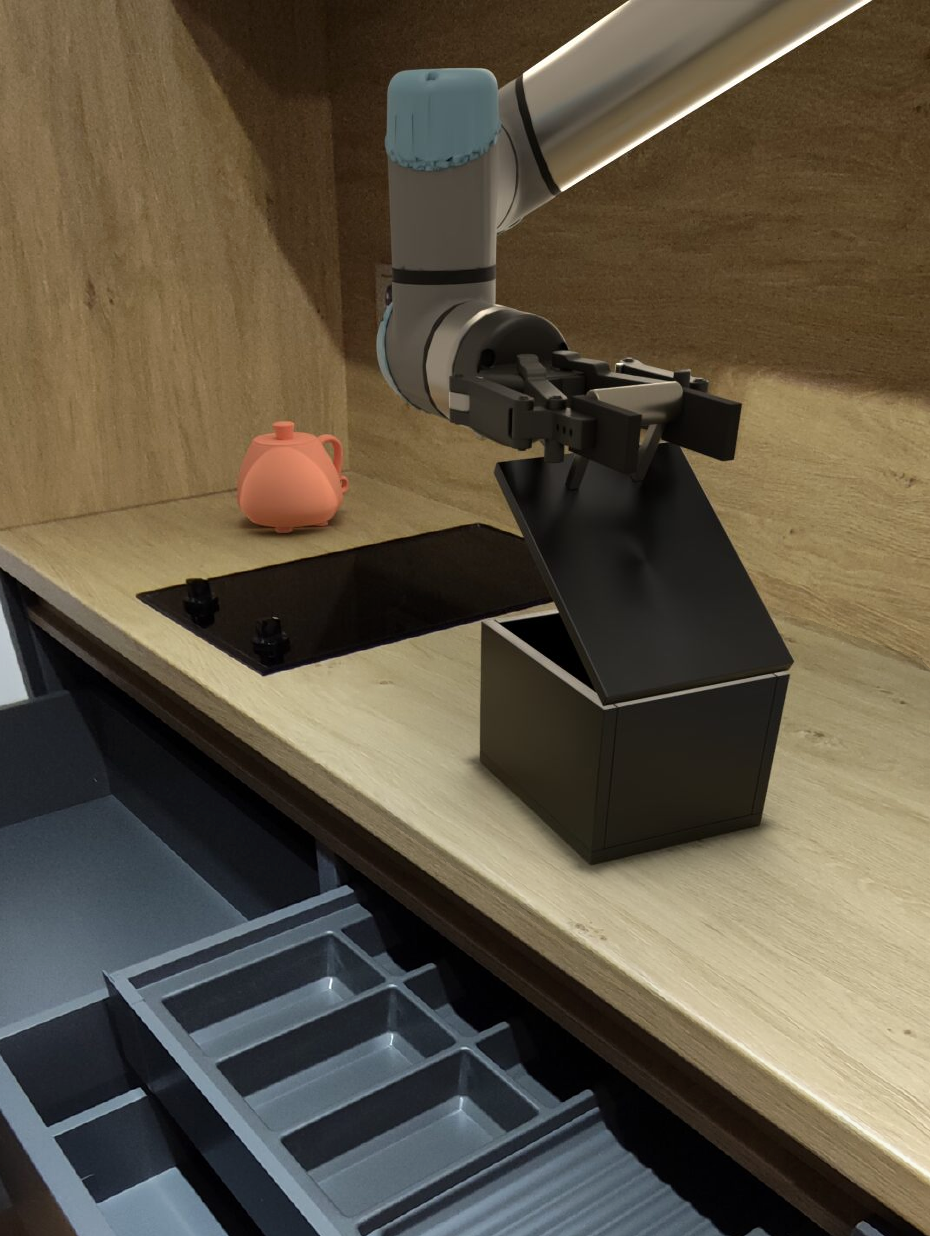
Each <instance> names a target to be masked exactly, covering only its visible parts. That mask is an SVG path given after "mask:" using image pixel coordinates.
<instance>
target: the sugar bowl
mask: <svg viewBox="0 0 930 1236" xmlns="http://www.w3.org/2000/svg"><path fill="white" fill-rule="evenodd" d="M272 429H273V431H274V432H271V433H270V432H269V433H264V434H260V435H257V436H255V437H254V438H253V439H252V441H251V442H250V444H249V446H248V448H247V451H246V454H245V456H244V458H243V461H242V463H241V466H240V468H239V473H238V478H237V485H236V500H237V506H238V508H239V510H240V511H242V513H243V514H244V515H245V516H246V517H247V519H248V520H249V521H250V522H252V523H254V524H256V525H259V526H264V527H271V528H275V532H276V533H278V534H286V533H292V532H293V528H300V527H307V526H314V527H324V526H328V525H329V522H328V521H329V520H331V519H333V517H334V516H335V515H336V514H337V513H338V510H339V509H340V507H341V505H342V503H343V500H344V495H345V494H346V493H347V492H348V491H349V488H350V483H349V480H348V477H346V476H345V475H344V474H343V475H342V469H343V463H344V462H343V461H344V449H343V444H342V443H341V441H340V440H339V439H338V438H337V437H336V436H334V435H332V434H328V433H324V434H321V435H319V436H316V435H315V434H312V433H308V432H301V431H294V430H295V422H293V421H289V420H282V421H276V422H273V423H272ZM326 443H331V444H332V448H333V460H332V458H331V457H330V455H329V453H328V452H327V450H326V448H325V447H324V446H323V444H326Z"/></svg>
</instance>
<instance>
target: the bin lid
mask: <svg viewBox="0 0 930 1236" xmlns="http://www.w3.org/2000/svg"><path fill="white" fill-rule="evenodd" d="M586 396H588V397H591V398H594V399H597V400H600V401H603V402H606V403H609V404H612V405H614V406H617V407H620V408H623V409H626V410H629V411H632V412H635V413H638V414H641V415H642V421H641V426H645V425H649V427H648V430H646V432H645V434H644V437H643V440H642V442H641V444H639V454H638V464H637V473H630V474H623V473H621V472H618V471H616V470H614V469H611V468H609V467H606V466H604V465H601V464H599V463H597V462H594V461H592V460H589V459H587V458H585V457H582V456H580V455H577V454H575V453H573V452H570V453H564V462H561V463H546V462H544V456H539V457H538V456H537V457H530V458H529V457H528V458H522V459H521V458H520V459H513V460H512V459H511V460H506V461H505V460H504V461H497V462H496V463H495V466H494V469H493V475H494V478H495V479H496V481H497V484H498V487H499V488H500V490H501V492H502V494H503V497H504V498H505V501H506V503H507V505H508V508H509V509H510V512H511V514H512V516H513V518H514V520H515V522H516V525H517V527H518V528H519V531H520V533H521V534H522V537H523V539H524V541H525V544H526V546H527V548H528V550H529V553H530V554H531V556H532V558H533V561H534V562H535V565H536V567H537V569H538V572H539V573H540V576H541V577H542V579H543V582H544V584H545V586H546V588H547V590H548V593H549V594H550V597H551V599H552V601H553V603H554V605H555V608H556V609H557V610H558V612H559V614H560V616H561V618H562V620H563V622H564V625H565V627H566V629H567V631H568V633H569V635H570V637H571V639H572V642H573V644H574V646H575V648H576V650H577V652H578V654H579V657H580V659H581V661H582V663H583V665H584V667H585V669H586V671H587V674H588V676H589V678H590V680H591V682H592V684H593V686H594V689H595V691H596V693H597V695H598V697H599V699H600V701H601V703H602V706H607V705H613V704H618V703H623V702H628V701H633V700H638V699H644V698H649V697H654V696H659V695H664V694H669V693H675V692H680V691H685V690H690V689H695V688H700V687H706V686H711V685H716V684H721V683H726V682H731V681H737V680H742V679H747V678H752V677H757V676H762V675H768V674H773V673H778V672H783V671H785V672H788V671H789V670H790V669H791V668H792V666H793V665H794V663H795V660H794V658H793V656H792V655H791V652H790V650H789V649H788V647H787V645H786V643H785V641H784V639H783V637H782V635H781V634H780V631H779V630H778V628H777V626H776V624H775V622H774V620H773V618H772V616H771V615H770V613H769V610H768V609H767V607H766V605H765V603H764V601H763V599H762V597H761V595H760V594H759V592H758V590H757V588H756V587H755V585H754V582H753V580H752V579H751V576H750V575H749V573H748V571H747V569H746V567H745V565H744V564H743V562H742V560H741V558H740V556H739V554H738V552H737V550H736V549H735V547H734V544H733V542H732V541H731V538H730V537H729V535H728V533H727V531H726V529H725V528H724V525H723V524H722V522H721V520H720V518H719V516H718V515H717V512H716V510H715V509H714V507H713V505H712V503H711V501H710V499H709V497H708V496H707V493H706V492H705V489H704V488H703V486H702V484H701V482H700V480H699V478H698V476H697V475H696V473H695V471H694V469H693V467H692V465H691V464H690V461H689V459H688V458H687V455H686V453H685V452H684V450H683V447H680V446H678V445H675V444H672V443H669V442H666V441H661V437H662V434H663V432H664V430H665V427H666V425H667V423H671V422H675V421H677V420H678V419H679V417H680V416H681V413H682V410H683V404H684V396H683V390H682V387H681V385H680V384H679V383H678V382H676V381H673V382H663V383H654V384H644V385H634V386H625V387H615V388H605V389H595V390H590V391H589V392H588V393H587V394H586ZM660 441H661V442H660Z"/></svg>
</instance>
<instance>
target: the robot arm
mask: <svg viewBox="0 0 930 1236" xmlns="http://www.w3.org/2000/svg"><path fill="white" fill-rule="evenodd" d="M869 2H872V0H627V1H626V2H624V3H623V4H621V5H620V6H619V7H617V8H616V9H615V10H613V11H611V12H610V13H609V14H607V15H606V16H604V17H603V18H601V19H600V20H599V21H596V23H594V24H593V25H591V26H590V27H588V28H587V29H585V30H584V31H583V32H581V33H580V34H579V35H576V36H575V37H573V38H572V39H571V40H569V41H568V42H567V43H565V44H564V45H562V46H560V47H559V48H558V49H557V50H555V51H553V52H552V53H551V54H549V55H548V56H547V57H545V58H543V59H542V60H540V61H539V62H537V63H536V64H535V65H533V66H532V67H531V68H529V69H528V70H526V71H525V72H523V73H522V74H521V75H520V76H518V77H517V78H515V79H513V80H511V81H509V82H507V84H504V86H502V87H500V88H499V85H498V81H497V78H496V76H495V75H494V73H493V72H492V71H490V70H489V69H487V68H477V67H476V68H475V67H456V68H455V67H453V68H452V67H449V68H425V69H408V70H401V71H398V72H397V73H396V74H394V76H393V77H392V78H391V79H390V82H389V84H388V86H387V93H386V97H387V99H386V101H387V102H386V104H387V105H386V109H387V110H386V133H385V137H384V148H385V152H386V155H387V173H388V193H389V194H388V198H389V200H388V201H389V223H390V243H391V244H390V245H391V246H390V247H391V248H390V249H391V275H392V279H391V296H392V297H391V300H392V301H391V303H390V304H389V305H388V306H387V308H386V310H385V311H384V313H383V316H382V318H381V321H380V324H379V327H378V330H377V335H376V346H375V347H376V356H377V363H378V366H379V369H380V372H381V374H382V376H383V378H384V380H385V382H386V383H387V385H388V386H389V387H390V389H391V390H392V391H393V392H395V394H397V395H398V396H399V397H400V398H402V399H403V401H405V402H406V403H408V405H410V406H412V407H413V408H415V409H416V410H417V411H422V412H423V413H426V414H428V415H434V416H436V417H439V418H441V419H445V420H447V421H448V422H449V423H451V424H454V425H456V426H461V427H462V428H465V429H467V430H469V431H471V432H474V433H475V438H476V439H477V440H478V441H483V442H484V441H486V440H490V441H492V442H494V443H497V444H499V445H501V446H503V447H507V448H511V449H514V450H517V451H518V452H526V451H527V450H530V449H532V448H533V444H535V443H537V442H539V443H540V444H541V445H542V446H543V449H544V450H543V457H544V462H546V463H561V462H564V454H565V450H566V449H565V447H567V451H568V452H570V453H575V454H577V455H580V456H582V457H585V458H587V459H589V460H592V461H594V462H597V463H599V464H601V465H604V466H606V467H609V468H611V469H614V470H616V471H618V472H621V473H623V474H630V473H637V464H638V454H639V445H640V443H641V431H642V430H646V431H647V430H648V427H649V425H645V426H641V421H642V415H641V414H638V413H635V412H632V411H629V410H626V409H623V408H620V407H617V406H614V405H612V404H609V403H606V402H603V401H600V400H597V399H594V398H591V397H588V396H586V394H587V393H588V392H589V391H590V390H595V389H605V388H615V387H625V386H634V385H644V384H654V383H663V382H673V381H676V382H678V383H679V384H680V385H681V387H682V390H683V396H684V404H683V410H682V413H681V416H680V417H679V419H678V420H677V421H675V422H671V423H667V425H666V427H665V430H664V432H663V434H662V437H661V439H660V441H663V442H669V443H672V444H675V445H678V446H680V447H681V448H682V449H687V450H689V451H692V452H695V453H698V454H700V455H703V456H706V457H709V458H711V459H715V460H717V461H720V462H729V461H735V457H736V449H737V443H738V442H737V441H738V434H739V428H740V421H741V414H742V408H743V403H742V402H739V401H735V400H732V399H728V398H725V397H720V396H718V395H714V394H711V393H709V385H710V381H709V380H708V379H704V377H695V376H692V369H690V368H687V369H681V370H676V371H672V370H667V369H663V368H658V367H656V366H651V365H647V364H644V363H642V362H641V361H639V360H637V359H634V358H633V357H625V358H622V359H620V360H619V362H618V363H617V362H616V363H615V365H614V372H613V371H612V370H611V368H610V364H609V363H608V362H607V361H604V360H598V359H592V358H584V357H582V356H581V354H580V353H579V352H577V351H570V348H569V346H568V344H567V341H566V339H565V337H564V336H563V334H562V333H561V332H560V330H559V329H558V328H557V326H555V324H553V323H552V322H551V321H550V320H548V319H547V318H545V317H544V316H541V315H538V314H534V313H531V312H527V311H522V310H518V309H516V308H514V307H513V308H512V307H509V306H506V305H501V304H497V303H496V285H497V284H496V283H497V282H496V281H497V280H496V279H497V236H498V235H501V234H502V233H504V232H506V231H508V230H509V229H512V228H513V227H515V226H517V224H519V223H520V222H521V221H522V220H523V218H524V217H525V216H527V215H529V214H530V213H532V212H534V211H535V210H536V209H538V208H540V207H542V206H544V205H545V204H546V203H548V202H550V201H551V200H553V199H554V198H556V196H558V195H559V194H561V193H562V192H564V191H566V190H568V189H569V188H571V187H572V186H573V185H576V184H577V183H578V182H580V181H582V180H584V179H586V177H588V176H589V175H591V174H594V173H595V172H596V171H598V170H600V169H601V168H603V167H604V166H606V165H608V164H609V163H611V162H613V161H615V160H616V159H617V158H619V157H621V156H623V155H624V154H625V153H627V152H629V151H630V150H632V149H634V148H635V147H637V146H638V145H640V144H642V143H644V142H645V141H646V140H649V139H650V138H652V137H653V136H654V135H656V134H658V133H660V132H661V131H663V130H664V129H666V128H667V127H669V126H671V125H672V124H674V123H676V122H677V121H679V120H680V119H682V118H684V117H685V116H687V115H689V114H691V113H692V112H693V111H695V110H697V109H699V108H700V107H702V106H703V105H705V104H706V103H708V102H710V101H711V100H713V99H714V98H716V97H718V96H720V95H721V94H722V93H724V92H726V91H727V90H729V89H731V88H732V87H734V86H735V85H737V84H738V83H741V82H742V81H744V80H745V79H747V78H748V77H751V75H753V74H755V73H756V72H758V71H760V70H761V69H763V68H764V67H766V66H768V65H770V64H771V63H773V62H774V61H776V60H777V59H779V58H781V57H782V56H784V55H785V54H787V53H789V52H790V51H792V50H794V49H796V48H797V47H798V46H800V45H802V44H803V43H805V42H806V41H808V40H810V39H811V38H813V37H814V36H816V35H818V34H820V33H821V32H822V31H825V30H826V29H827V28H829V27H830V26H832V25H834V24H836V23H838V22H839V21H841V20H842V19H844V18H845V17H848V15H850V14H852V13H854V12H855V11H856V10H858V9H860V8H861V7H863V6H864V5H866V4H868V3H869Z"/></svg>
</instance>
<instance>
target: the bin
mask: <svg viewBox="0 0 930 1236" xmlns="http://www.w3.org/2000/svg"><path fill="white" fill-rule="evenodd" d="M480 624H481V625H480V687H479V689H480V690H479V691H480V692H479V693H480V694H479V695H480V696H479V704H480V705H479V709H480V710H479V762H480V763H481V764H482V765H483V766H484V767H485V768H486V769H487V770H488V771H490V772H491V773H492V774H493V775H494V776H495V777H496V778H497V779H498V780H499V781H500V782H501V783H503V784H504V786H505V787H507V788H508V790H510V791H511V792H512V793H513V794H514V796H516V797H517V798H518V799H520V800H521V801H522V803H524V804H525V805H526V806H527V807H528V808H529V809H530V810H531V811H532V812H533V813H535V814H536V815H537V816H538V817H539V818H540V819H541V820H542V821H543V822H544V823H545V824H546V825H547V826H548V827H550V828H551V829H552V830H553V831H554V832H555V833H556V835H558V836H559V837H560V838H561V839H562V840H563V841H564V842H566V843H567V844H568V845H569V847H571V848H572V850H574V851H575V852H576V853H577V854H578V855H579V856H581V858H582V859H583V860H584V861H585V862H586V863H588V864H589V865H590V866H592V865H595V864H600V863H604V862H609V861H612V860H617V859H622V858H626V857H630V856H634V855H639V854H642V853H646V852H650V851H651V852H652V851H655V850H659V849H663V848H668V847H671V846H676V845H680V844H684V843H688V842H693V841H697V840H702V839H706V838H709V837H714V836H718V835H722V834H726V833H731V832H734V831H739V830H743V829H747V828H752V827H756V826H760V825H761V824H762V819H763V815H764V814H763V813H764V809H765V804H766V798H767V793H768V789H769V783H770V779H771V773H772V768H773V763H774V758H775V753H776V748H777V744H778V738H779V734H780V733H779V732H780V728H781V722H782V717H783V713H784V707H785V703H786V699H787V692H788V687H789V682H790V677H791V674H790V673H789V672H788V671H783V672H778V673H773V674H768V675H762V676H757V677H752V678H747V679H742V680H737V681H731V682H726V683H721V684H716V685H711V686H706V687H700V688H695V689H690V690H685V691H680V692H675V693H669V694H664V695H659V696H654V697H649V698H644V699H638V700H633V701H628V702H623V703H618V704H613V705H607V706H602V703H601V701H600V699H599V697H598V695H597V693H596V691H595V689H594V686H593V684H592V682H591V680H590V678H589V676H588V674H587V671H586V669H585V667H584V665H583V663H582V661H581V659H580V657H579V654H578V652H577V650H576V648H575V646H574V644H573V642H572V639H571V637H570V635H569V633H568V631H567V629H566V627H565V625H564V622H563V620H562V618H561V616H560V614H559V612H558V610H557V608H555V609H549V610H543V611H537V612H530V613H524V614H519V615H512V616H508V617H507V616H506V617H500V618H495V619H487V620H481V622H480Z"/></svg>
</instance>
